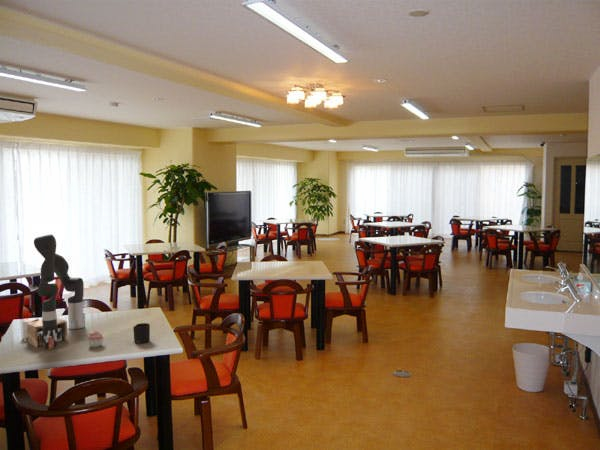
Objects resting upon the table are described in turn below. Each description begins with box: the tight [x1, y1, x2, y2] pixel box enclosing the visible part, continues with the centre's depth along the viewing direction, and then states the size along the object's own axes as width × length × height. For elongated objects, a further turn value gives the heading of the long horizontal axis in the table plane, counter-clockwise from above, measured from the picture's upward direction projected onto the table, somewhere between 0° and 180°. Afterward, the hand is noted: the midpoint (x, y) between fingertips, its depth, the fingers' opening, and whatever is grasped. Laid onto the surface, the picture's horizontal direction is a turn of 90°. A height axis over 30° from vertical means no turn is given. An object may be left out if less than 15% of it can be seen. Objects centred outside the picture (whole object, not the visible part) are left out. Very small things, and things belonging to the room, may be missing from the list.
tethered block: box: [38, 334, 55, 351], centre depth 307 cm, size 5×18×7 cm, turn 45°
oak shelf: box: [27, 316, 68, 348], centre depth 316 cm, size 18×14×12 cm
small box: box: [21, 318, 40, 339], centre depth 328 cm, size 8×6×10 cm
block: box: [55, 331, 63, 343], centre depth 319 cm, size 5×5×5 cm
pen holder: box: [132, 322, 151, 345], centre depth 315 cm, size 9×9×10 cm
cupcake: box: [86, 329, 105, 349], centre depth 307 cm, size 9×9×10 cm
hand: (50, 347), depth 302 cm, fingers closed on tethered block, 3 cm apart
